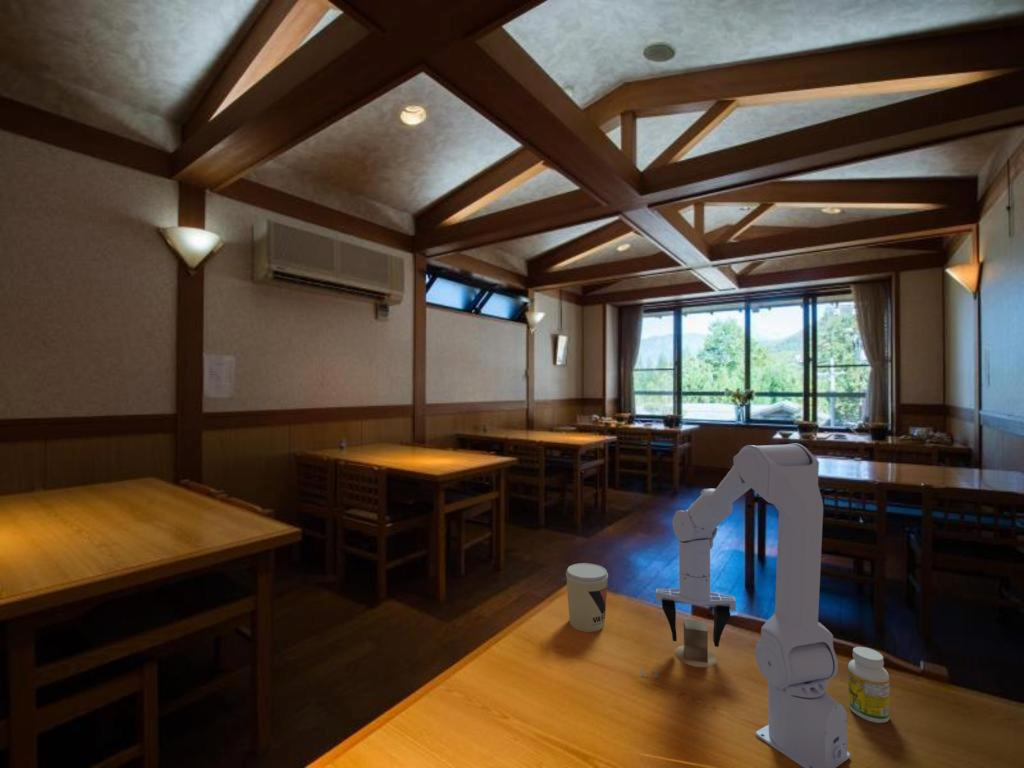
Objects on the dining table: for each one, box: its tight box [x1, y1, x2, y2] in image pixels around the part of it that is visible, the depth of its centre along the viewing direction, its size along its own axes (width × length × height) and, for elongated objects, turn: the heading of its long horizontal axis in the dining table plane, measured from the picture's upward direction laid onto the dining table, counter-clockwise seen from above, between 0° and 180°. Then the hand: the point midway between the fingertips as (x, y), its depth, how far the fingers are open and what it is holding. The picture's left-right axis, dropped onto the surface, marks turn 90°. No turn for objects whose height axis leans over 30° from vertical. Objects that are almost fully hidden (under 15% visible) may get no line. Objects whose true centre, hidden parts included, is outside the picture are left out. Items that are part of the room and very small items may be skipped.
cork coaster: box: [674, 644, 717, 668], centre depth 94 cm, size 8×8×1 cm
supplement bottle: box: [847, 646, 891, 724], centre depth 78 cm, size 5×5×10 cm
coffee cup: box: [565, 562, 609, 633], centre depth 107 cm, size 9×9×12 cm
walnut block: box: [683, 618, 709, 663], centre depth 94 cm, size 4×4×6 cm
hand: (695, 641), depth 94 cm, fingers open, 7 cm apart
